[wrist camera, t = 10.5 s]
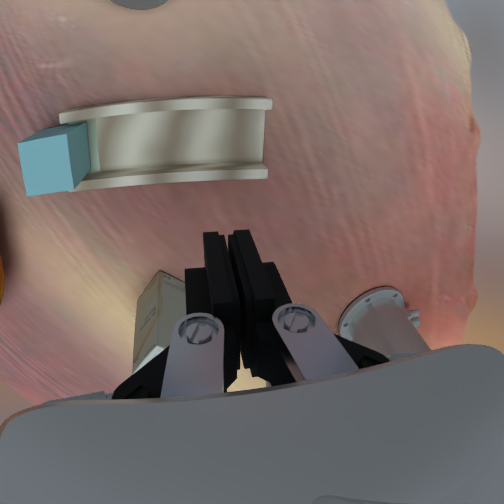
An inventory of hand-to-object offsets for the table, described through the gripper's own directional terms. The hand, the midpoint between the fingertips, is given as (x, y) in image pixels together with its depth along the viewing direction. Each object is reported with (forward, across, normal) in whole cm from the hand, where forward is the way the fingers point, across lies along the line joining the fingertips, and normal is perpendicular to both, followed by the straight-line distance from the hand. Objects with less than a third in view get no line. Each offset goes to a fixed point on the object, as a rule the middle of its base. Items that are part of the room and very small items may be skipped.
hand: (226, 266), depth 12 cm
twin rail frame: (+23, +4, -1) cm, 23 cm away
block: (+22, +14, -1) cm, 26 cm away
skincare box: (+24, +6, +19) cm, 31 cm away
